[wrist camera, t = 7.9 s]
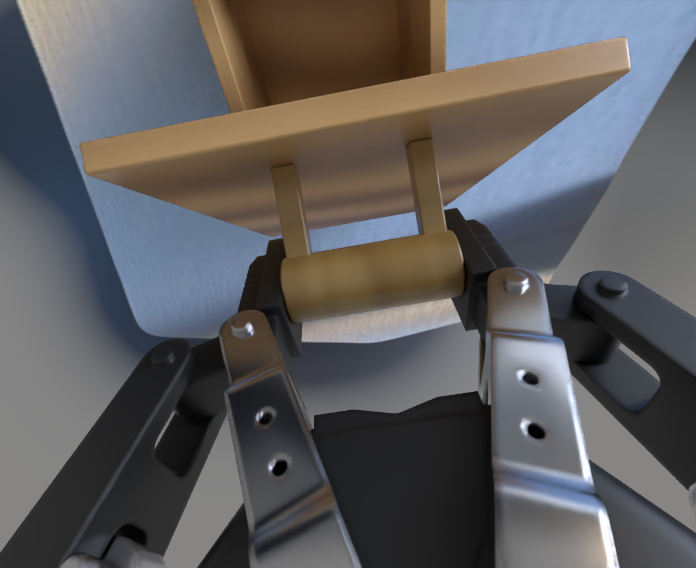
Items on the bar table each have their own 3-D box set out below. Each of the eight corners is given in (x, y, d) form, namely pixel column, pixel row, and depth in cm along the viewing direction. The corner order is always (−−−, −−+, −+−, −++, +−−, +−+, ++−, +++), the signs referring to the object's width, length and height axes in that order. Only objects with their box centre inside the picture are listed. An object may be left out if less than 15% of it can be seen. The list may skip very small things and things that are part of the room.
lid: (77, 141, 8) (121, 362, 8) (628, 33, 7) (660, 276, 8) (268, 226, 25) (281, 299, 25) (444, 194, 24) (456, 270, 24)
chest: (218, -45, 23) (164, -78, 15) (403, -86, 23) (449, -142, 15) (282, 176, 33) (270, 228, 25) (412, 152, 33) (443, 197, 24)
